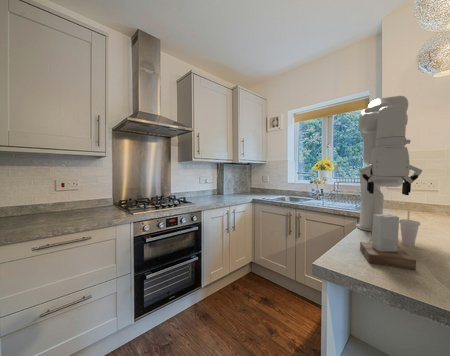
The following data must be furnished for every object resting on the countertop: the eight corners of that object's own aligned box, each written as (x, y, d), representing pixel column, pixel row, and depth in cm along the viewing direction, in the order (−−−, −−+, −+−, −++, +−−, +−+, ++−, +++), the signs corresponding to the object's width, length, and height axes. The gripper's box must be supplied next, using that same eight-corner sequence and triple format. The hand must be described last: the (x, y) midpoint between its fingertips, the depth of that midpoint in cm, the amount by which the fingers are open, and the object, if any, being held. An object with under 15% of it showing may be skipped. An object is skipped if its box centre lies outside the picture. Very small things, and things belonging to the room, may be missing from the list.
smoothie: (408, 241, 87) (410, 209, 86) (423, 247, 81) (425, 212, 80) (393, 241, 87) (395, 209, 86) (407, 247, 81) (409, 212, 80)
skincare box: (387, 247, 73) (389, 213, 72) (398, 252, 68) (400, 216, 68) (370, 247, 73) (372, 213, 72) (380, 252, 68) (381, 216, 68)
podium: (359, 249, 78) (360, 241, 78) (398, 254, 74) (399, 246, 74) (369, 263, 67) (369, 254, 67) (415, 270, 63) (416, 260, 62)
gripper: (417, 143, 69) (414, 193, 70) (357, 145, 75) (355, 191, 76) (429, 141, 62) (426, 197, 63) (363, 143, 68) (360, 194, 70)
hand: (387, 193), depth 70 cm, fingers open, 9 cm apart
